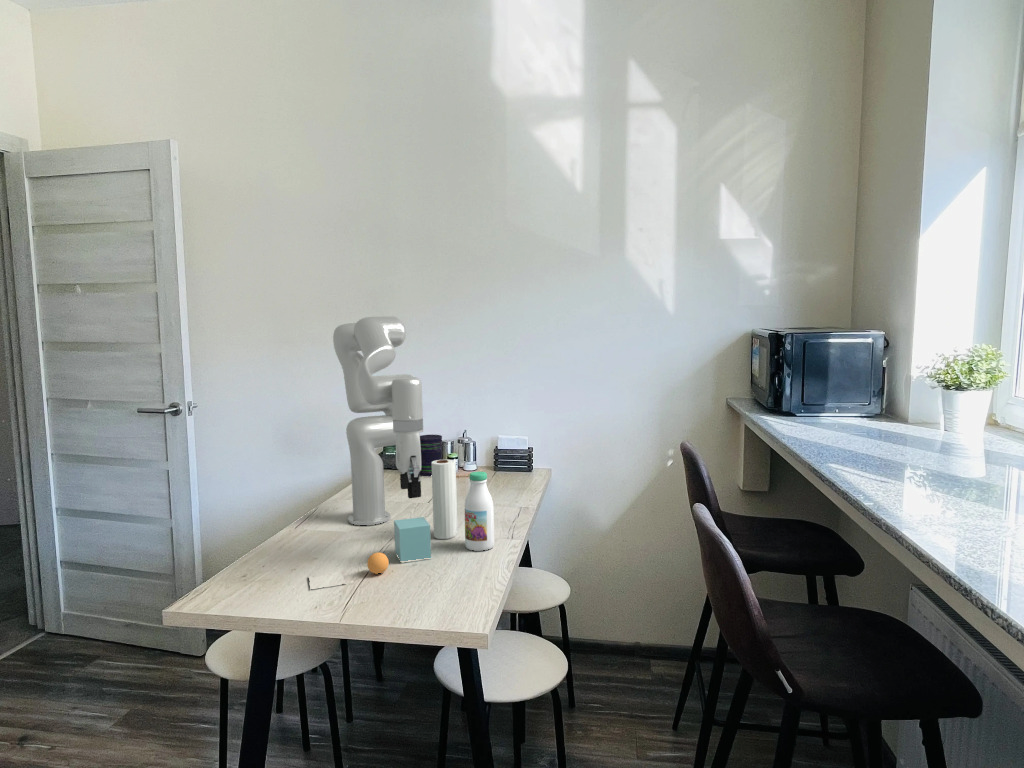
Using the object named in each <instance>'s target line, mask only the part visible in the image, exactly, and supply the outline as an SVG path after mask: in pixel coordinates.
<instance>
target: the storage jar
mask: <svg viewBox="0 0 1024 768" xmlns="http://www.w3.org/2000/svg"><path fill="white" fill-rule="evenodd" d="M442 439H443V435H441V434H423V435H421V434H420V446H421V471H420V472H419V473H420V475H421V476H420V477H422V476H431V475H432V462H433V461H436V460H443V440H442Z"/></svg>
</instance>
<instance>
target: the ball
mask: <svg viewBox="0 0 1024 768" xmlns="http://www.w3.org/2000/svg"><path fill="white" fill-rule="evenodd" d="M366 564H367V568H368V570H369V572H370V573H372V574H374V573H375V575H379V574H378V573H381V574H383V573H385V572H386V571H387V569H388V567H389V566H390V565H389V558H388V556H387V555H386V554H384V553H383V552H379V551H378V552H374V553H372V554H371V555H370V556H369V557H368V559H367V563H366Z"/></svg>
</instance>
